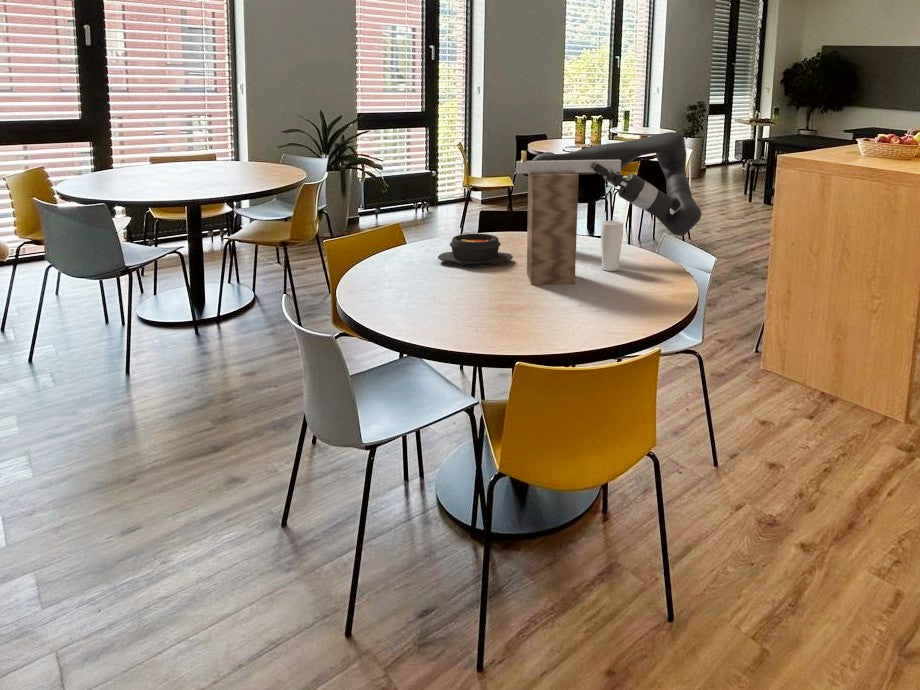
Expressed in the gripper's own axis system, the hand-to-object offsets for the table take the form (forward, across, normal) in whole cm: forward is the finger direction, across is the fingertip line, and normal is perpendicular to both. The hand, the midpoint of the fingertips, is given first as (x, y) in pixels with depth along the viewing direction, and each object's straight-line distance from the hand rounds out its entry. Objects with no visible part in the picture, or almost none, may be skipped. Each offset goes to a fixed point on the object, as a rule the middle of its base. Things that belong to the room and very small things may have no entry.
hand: (591, 164), depth 231 cm
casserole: (+12, -24, +46) cm, 53 cm away
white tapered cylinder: (-25, -10, +25) cm, 37 cm away
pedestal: (-7, 0, +35) cm, 36 cm away
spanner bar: (+5, 0, +5) cm, 7 cm away
